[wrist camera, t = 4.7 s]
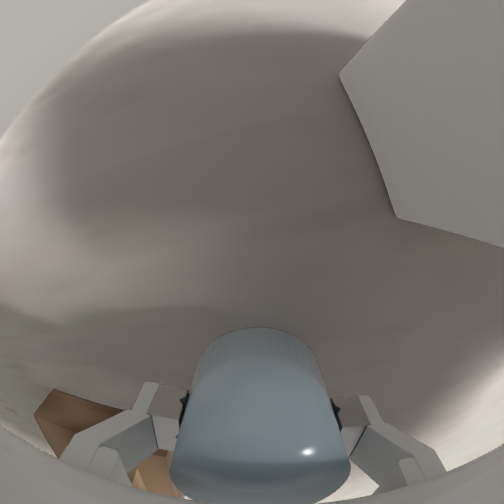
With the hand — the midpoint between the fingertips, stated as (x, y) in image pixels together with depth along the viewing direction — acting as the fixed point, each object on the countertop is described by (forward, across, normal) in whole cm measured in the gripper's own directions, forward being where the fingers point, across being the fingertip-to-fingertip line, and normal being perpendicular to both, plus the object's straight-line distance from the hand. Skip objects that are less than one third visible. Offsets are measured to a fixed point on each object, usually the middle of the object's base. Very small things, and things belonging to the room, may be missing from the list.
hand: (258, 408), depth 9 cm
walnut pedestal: (+4, +9, +11) cm, 14 cm away
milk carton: (+5, -7, -11) cm, 14 cm away
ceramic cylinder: (+2, 0, 0) cm, 2 cm away
